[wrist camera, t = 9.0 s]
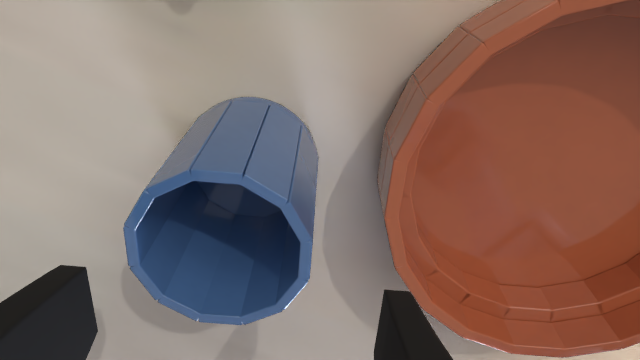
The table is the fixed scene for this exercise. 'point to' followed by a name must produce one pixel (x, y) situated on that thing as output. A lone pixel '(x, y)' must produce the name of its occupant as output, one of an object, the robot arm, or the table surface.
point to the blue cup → (229, 215)
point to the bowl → (523, 178)
